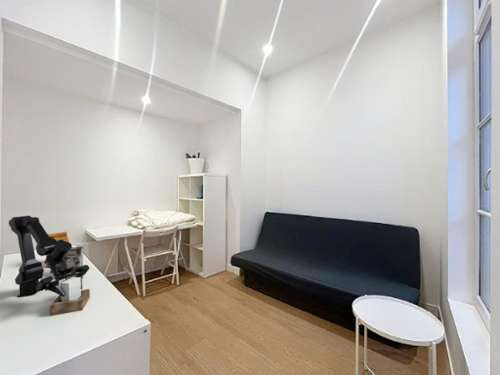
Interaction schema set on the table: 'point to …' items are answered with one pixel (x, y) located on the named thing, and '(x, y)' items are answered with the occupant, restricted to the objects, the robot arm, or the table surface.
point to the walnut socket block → (69, 304)
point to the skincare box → (71, 289)
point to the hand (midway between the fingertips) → (73, 292)
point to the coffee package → (58, 238)
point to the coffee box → (75, 253)
